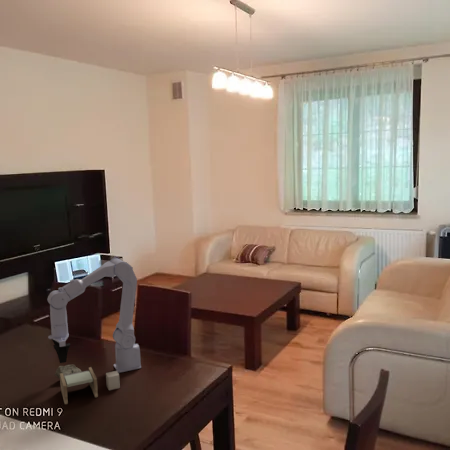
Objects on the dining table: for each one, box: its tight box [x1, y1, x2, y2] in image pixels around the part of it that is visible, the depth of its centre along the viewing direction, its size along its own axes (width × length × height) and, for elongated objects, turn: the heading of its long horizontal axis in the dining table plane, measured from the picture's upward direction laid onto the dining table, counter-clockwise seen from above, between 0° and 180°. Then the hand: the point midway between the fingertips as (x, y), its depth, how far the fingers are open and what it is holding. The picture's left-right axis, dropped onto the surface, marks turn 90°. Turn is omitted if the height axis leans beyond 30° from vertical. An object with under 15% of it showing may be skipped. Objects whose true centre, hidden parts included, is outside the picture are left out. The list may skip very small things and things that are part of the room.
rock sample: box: [54, 364, 83, 379], centre depth 175 cm, size 10×8×9 cm
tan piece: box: [59, 366, 99, 405], centre depth 164 cm, size 11×11×6 cm
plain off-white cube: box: [105, 370, 121, 391], centre depth 169 cm, size 4×4×5 cm
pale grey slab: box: [64, 370, 93, 388], centre depth 165 cm, size 8×10×3 cm
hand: (61, 358), depth 171 cm, fingers open, 7 cm apart
